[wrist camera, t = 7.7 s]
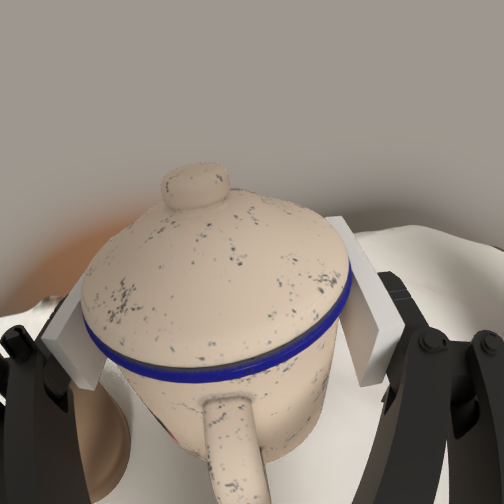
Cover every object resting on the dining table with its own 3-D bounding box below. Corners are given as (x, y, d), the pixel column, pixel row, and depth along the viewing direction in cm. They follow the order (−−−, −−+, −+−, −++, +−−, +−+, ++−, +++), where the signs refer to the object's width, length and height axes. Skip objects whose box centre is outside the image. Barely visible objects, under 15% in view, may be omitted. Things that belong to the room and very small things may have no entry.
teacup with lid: (163, 344, 17) (102, 165, 11) (302, 323, 18) (300, 133, 12) (158, 529, 7) (-88, 390, 1) (367, 500, 8) (560, 309, 2)
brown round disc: (144, 393, 25) (133, 376, 23) (116, 528, 12) (97, 523, 10) (42, 376, 25) (29, 360, 24) (3, 474, 12) (-16, 462, 11)
